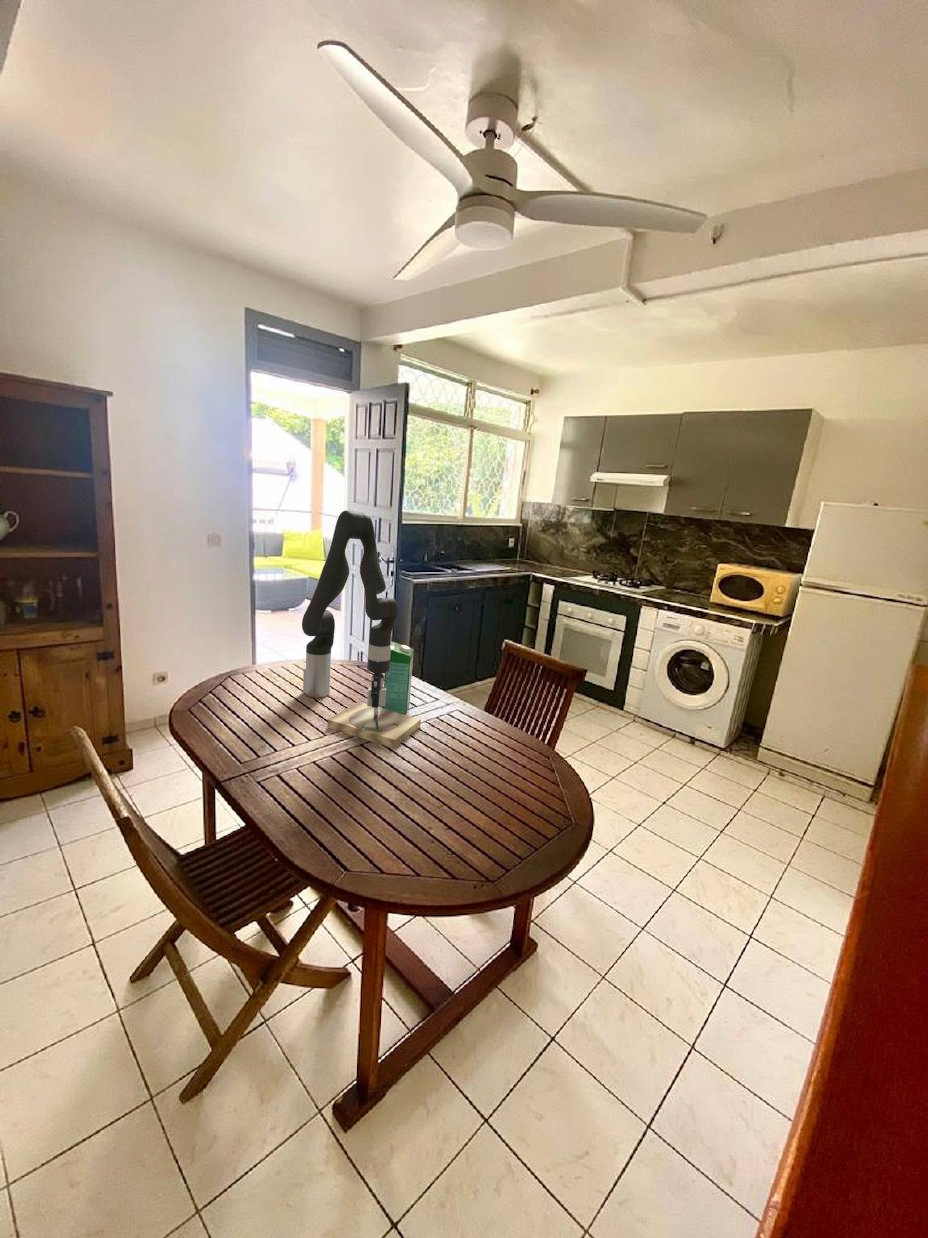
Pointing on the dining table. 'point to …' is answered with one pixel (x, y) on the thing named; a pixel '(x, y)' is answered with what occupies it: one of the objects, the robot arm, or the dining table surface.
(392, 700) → the milk carton
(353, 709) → the dial board
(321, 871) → the dining table surface
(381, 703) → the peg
